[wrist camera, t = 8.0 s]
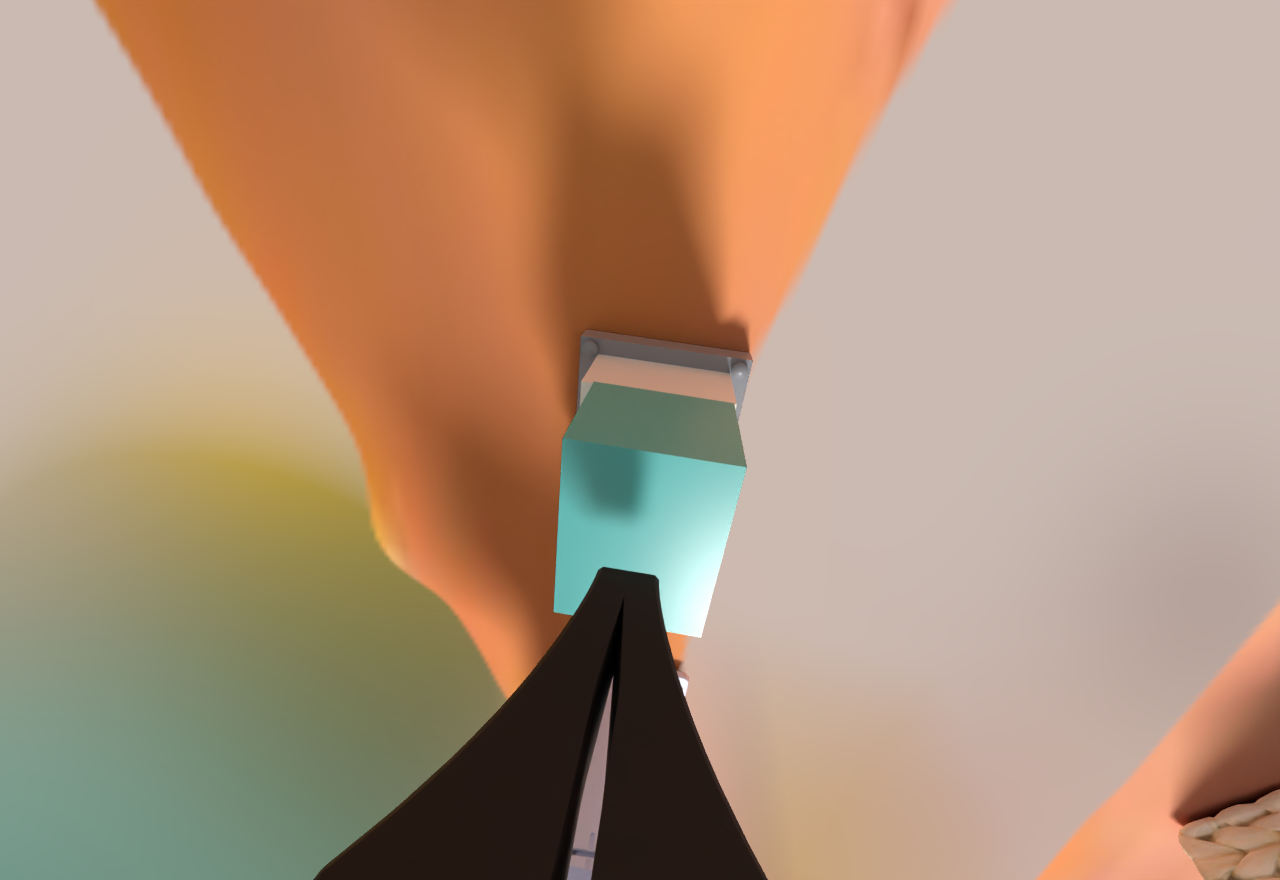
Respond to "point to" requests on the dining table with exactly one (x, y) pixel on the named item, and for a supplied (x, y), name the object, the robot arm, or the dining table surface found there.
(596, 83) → the dining table surface
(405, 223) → the dining table surface
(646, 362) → the cream brick
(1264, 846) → the storage basket
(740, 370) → the baseplate
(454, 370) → the dining table surface
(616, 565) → the teal brick
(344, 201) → the dining table surface
